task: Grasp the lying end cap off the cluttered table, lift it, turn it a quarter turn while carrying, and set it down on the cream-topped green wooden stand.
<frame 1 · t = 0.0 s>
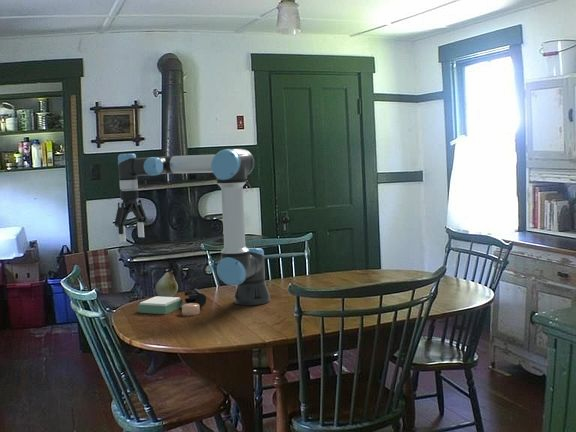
hand: (132, 239, 297), 28 cm above the table, fingers open, 13 cm apart
fruit: (167, 297, 310), on the table
stand: (160, 309, 287), on the table
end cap: (195, 307, 290), on the table
pinkish tan egg: (191, 313, 278), on the table
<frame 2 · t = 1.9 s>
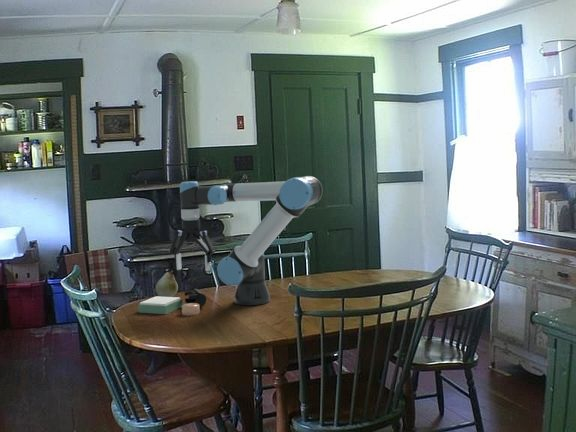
hand: (193, 269, 288), 15 cm above the table, fingers open, 13 cm apart
nothing on the table moved.
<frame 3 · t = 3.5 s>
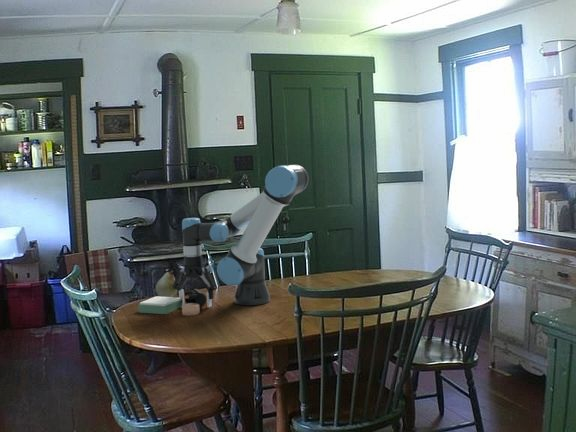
hand: (195, 306, 290), 0 cm above the table, fingers open, 12 cm apart
nothing on the table moved.
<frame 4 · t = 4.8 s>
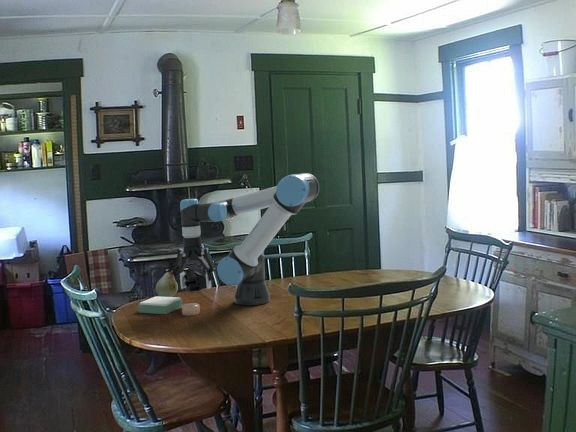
hand: (196, 288, 289), 8 cm above the table, fingers closed on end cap, 11 cm apart
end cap: (196, 289, 289), point 7 cm above the table, touching gripper
everything else where it was.
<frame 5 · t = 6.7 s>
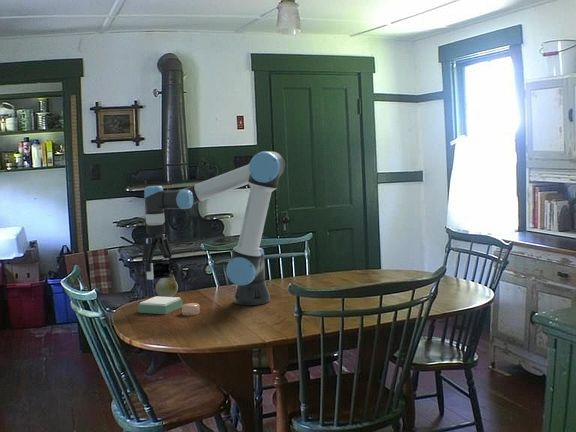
hand: (158, 276, 285), 14 cm above the table, fingers closed on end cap, 11 cm apart
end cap: (158, 277, 285), point 13 cm above the table, touching gripper
everything else where it was.
when the fingers open (5 cm above the table, at t = 8.8 s): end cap stays where it is, resting on stand.
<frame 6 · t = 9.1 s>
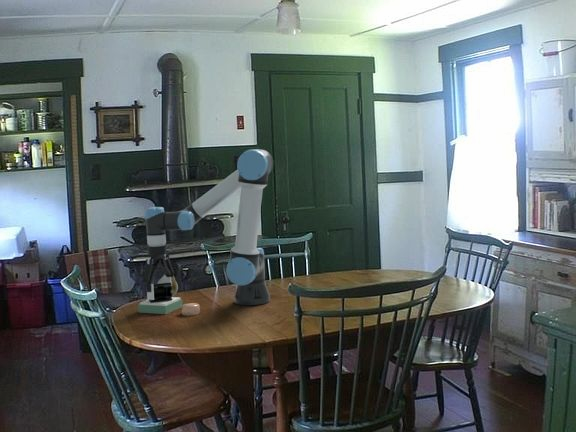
hand: (160, 296, 286), 6 cm above the table, fingers open, 13 cm apart
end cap: (160, 300, 286), point 4 cm above the table, touching stand
everything else where it was.
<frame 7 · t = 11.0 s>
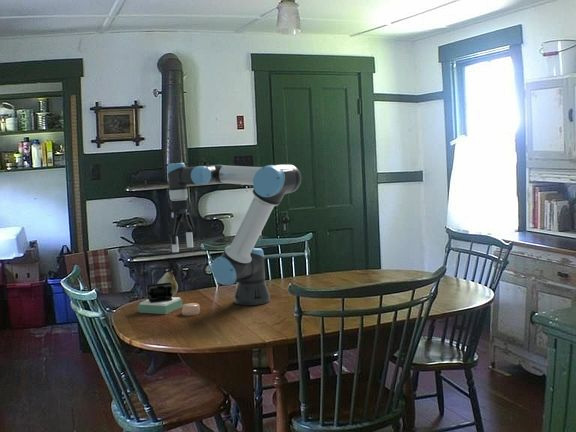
hand: (183, 249, 294), 23 cm above the table, fingers open, 13 cm apart
nothing on the table moved.
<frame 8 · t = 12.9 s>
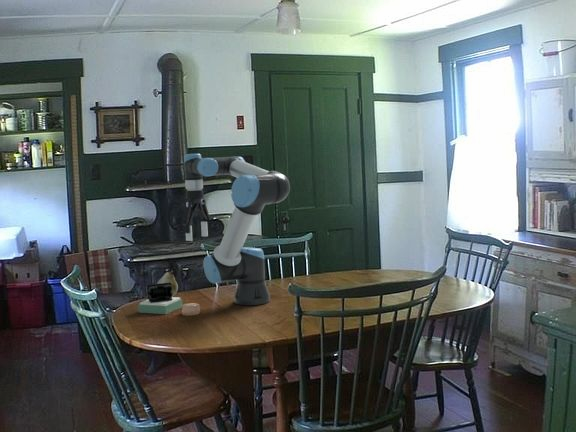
hand: (197, 238, 301), 27 cm above the table, fingers open, 13 cm apart
nothing on the table moved.
at the end: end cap inside the target area on the stand (0.0 cm from its centre), point 3.8 cm above the stand's base; the gripper is holding nothing; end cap touching stand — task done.
